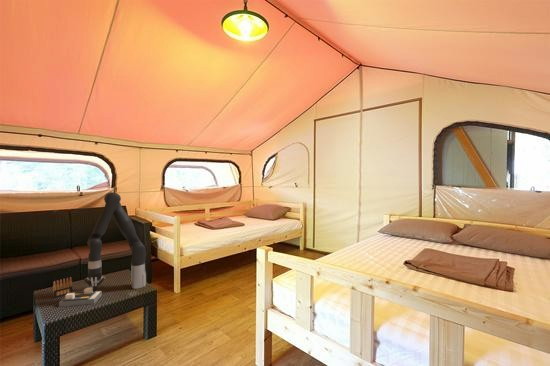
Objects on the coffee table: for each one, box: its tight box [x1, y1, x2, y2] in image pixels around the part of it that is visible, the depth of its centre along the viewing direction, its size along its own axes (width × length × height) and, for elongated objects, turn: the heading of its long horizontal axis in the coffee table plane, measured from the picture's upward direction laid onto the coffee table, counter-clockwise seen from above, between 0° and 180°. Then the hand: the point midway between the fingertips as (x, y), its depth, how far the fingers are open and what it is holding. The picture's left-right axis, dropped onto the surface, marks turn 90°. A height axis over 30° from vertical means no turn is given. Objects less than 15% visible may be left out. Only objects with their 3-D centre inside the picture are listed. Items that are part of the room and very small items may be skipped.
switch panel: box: [58, 290, 103, 308], centre depth 174 cm, size 20×12×4 cm, turn 103°
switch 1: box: [64, 293, 75, 300], centre depth 169 cm, size 4×3×3 cm
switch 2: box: [83, 286, 93, 294], centre depth 177 cm, size 4×3×3 cm
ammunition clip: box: [52, 276, 74, 299], centre depth 180 cm, size 11×2×12 cm, turn 138°
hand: (95, 291), depth 178 cm, fingers closed
